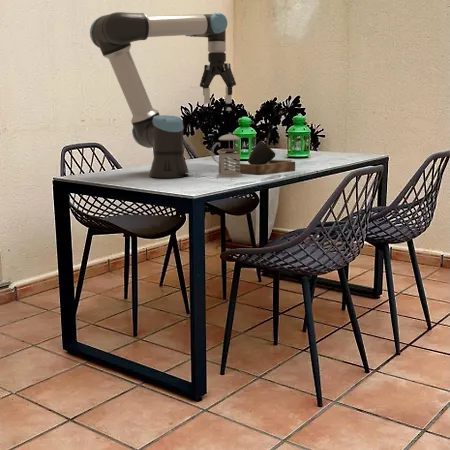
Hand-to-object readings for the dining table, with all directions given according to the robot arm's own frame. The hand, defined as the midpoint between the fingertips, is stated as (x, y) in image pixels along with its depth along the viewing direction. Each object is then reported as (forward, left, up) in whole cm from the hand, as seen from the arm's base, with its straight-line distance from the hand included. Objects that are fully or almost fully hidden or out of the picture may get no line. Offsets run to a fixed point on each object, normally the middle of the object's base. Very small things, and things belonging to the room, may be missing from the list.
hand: (217, 103), depth 275 cm
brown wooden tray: (-7, -35, -27) cm, 44 cm away
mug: (-4, -25, -26) cm, 36 cm away
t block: (+12, -26, -27) cm, 39 cm away
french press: (-27, -34, -27) cm, 51 cm away
